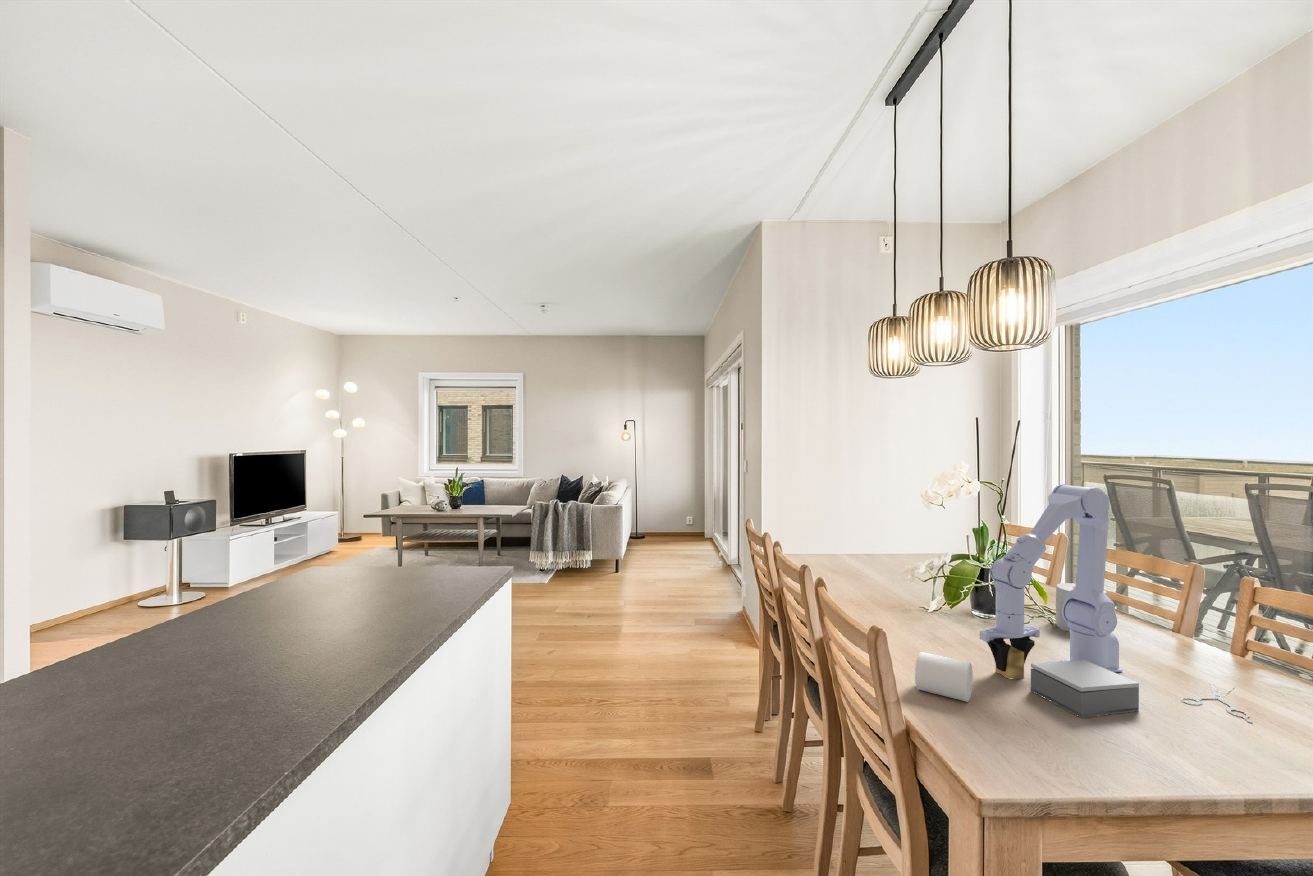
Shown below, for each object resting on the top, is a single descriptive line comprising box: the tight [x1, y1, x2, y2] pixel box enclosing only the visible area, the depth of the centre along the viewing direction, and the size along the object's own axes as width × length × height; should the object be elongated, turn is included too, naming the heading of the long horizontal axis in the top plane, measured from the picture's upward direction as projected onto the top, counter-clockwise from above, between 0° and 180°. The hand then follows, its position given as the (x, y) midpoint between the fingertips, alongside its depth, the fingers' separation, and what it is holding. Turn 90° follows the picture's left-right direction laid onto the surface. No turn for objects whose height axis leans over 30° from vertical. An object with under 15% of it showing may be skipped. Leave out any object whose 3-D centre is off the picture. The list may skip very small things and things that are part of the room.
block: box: [995, 646, 1025, 679], centre depth 133 cm, size 4×4×6 cm
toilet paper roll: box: [1055, 582, 1108, 633], centre depth 164 cm, size 12×12×12 cm
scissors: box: [1180, 680, 1253, 724], centre depth 122 cm, size 11×1×20 cm
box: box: [1030, 667, 1140, 719], centre depth 121 cm, size 14×12×5 cm
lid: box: [1030, 660, 1140, 692], centre depth 121 cm, size 14×12×1 cm
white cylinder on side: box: [914, 651, 974, 703], centre depth 126 cm, size 12×10×8 cm
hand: (1009, 669), depth 133 cm, fingers closed on block, 4 cm apart
